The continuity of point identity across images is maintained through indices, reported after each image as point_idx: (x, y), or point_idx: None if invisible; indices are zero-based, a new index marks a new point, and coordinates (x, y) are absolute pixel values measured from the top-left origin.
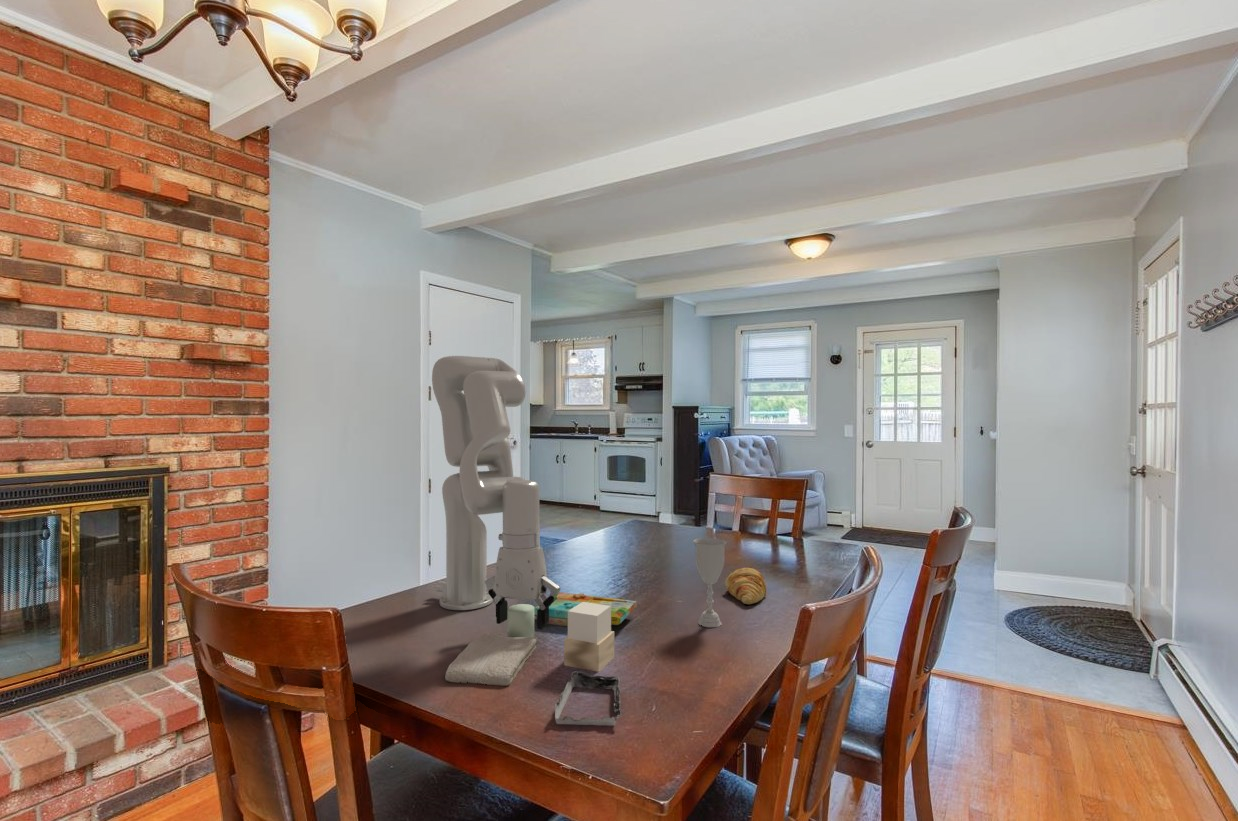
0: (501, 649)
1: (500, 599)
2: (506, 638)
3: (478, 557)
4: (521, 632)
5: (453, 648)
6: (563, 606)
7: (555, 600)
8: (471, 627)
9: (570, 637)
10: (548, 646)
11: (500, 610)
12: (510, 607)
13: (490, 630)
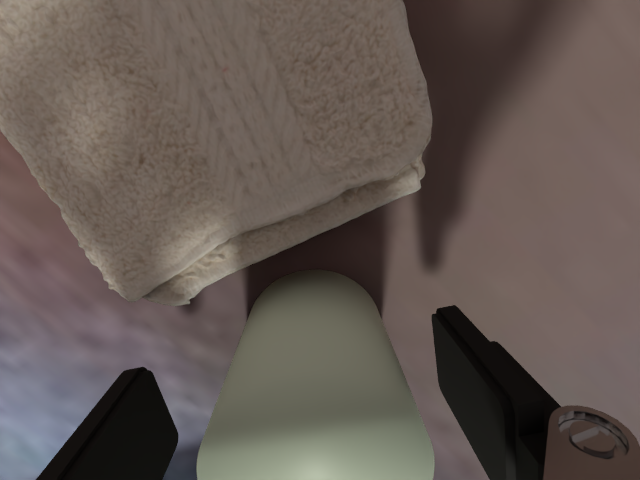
0: (112, 9)
1: (543, 476)
2: (255, 194)
3: None
4: (254, 314)
5: (535, 6)
6: None
7: None
8: (626, 289)
9: None
10: (120, 324)
11: (475, 379)
12: (412, 447)
13: (509, 313)
